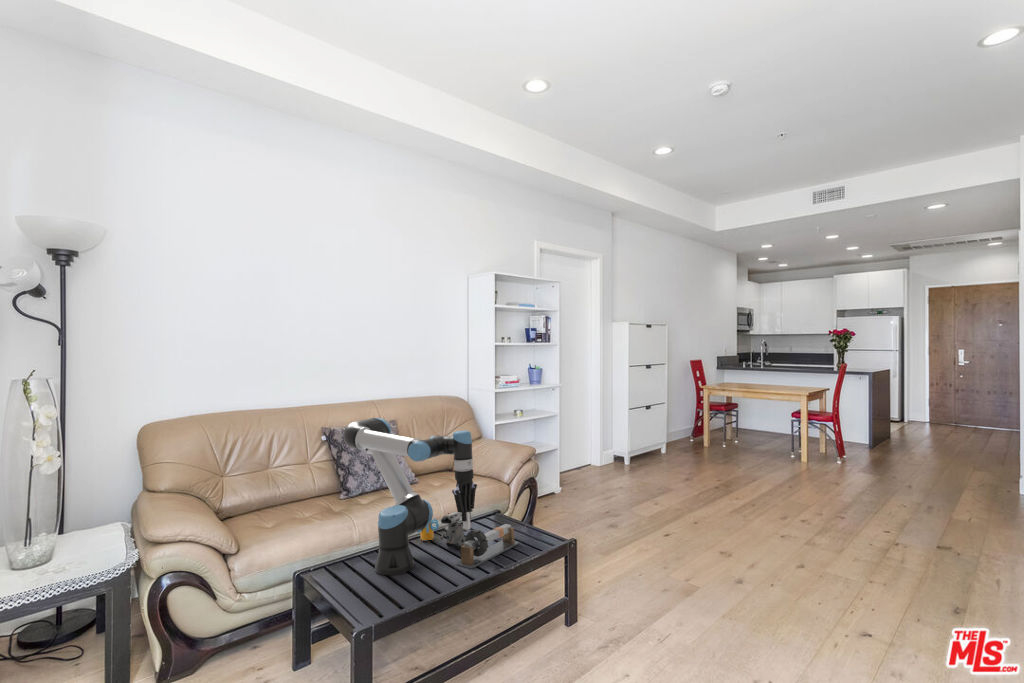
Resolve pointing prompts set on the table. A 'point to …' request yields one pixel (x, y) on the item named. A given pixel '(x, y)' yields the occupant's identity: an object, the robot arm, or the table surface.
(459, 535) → the figurine
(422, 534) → the yellow blue looped tower
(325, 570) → the table surface
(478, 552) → the dark gear wheel
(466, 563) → the grey rail stand
